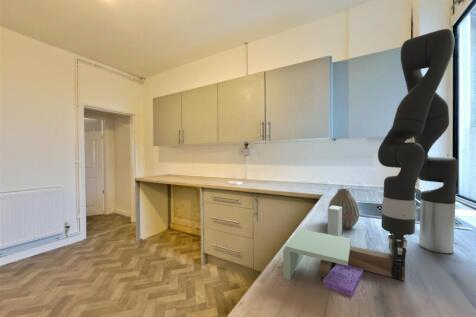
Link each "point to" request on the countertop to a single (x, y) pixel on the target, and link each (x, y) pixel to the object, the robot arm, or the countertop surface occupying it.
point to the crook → (365, 262)
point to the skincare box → (335, 220)
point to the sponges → (344, 278)
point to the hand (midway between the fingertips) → (395, 273)
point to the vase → (346, 208)
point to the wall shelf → (314, 249)
